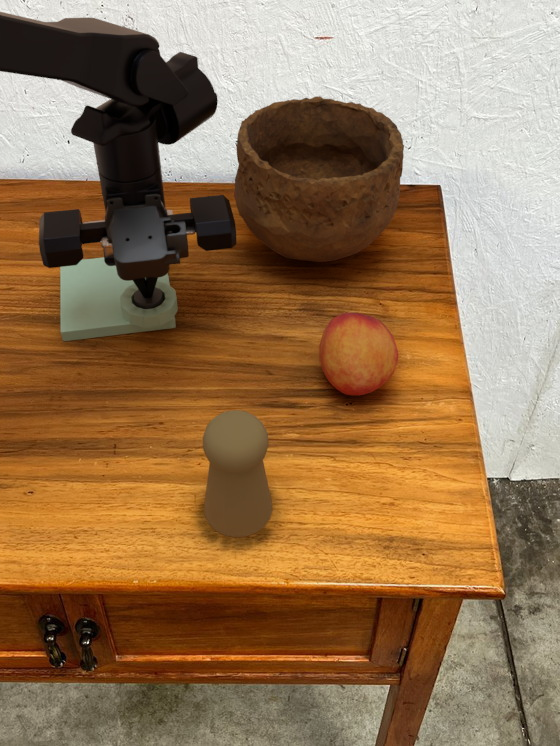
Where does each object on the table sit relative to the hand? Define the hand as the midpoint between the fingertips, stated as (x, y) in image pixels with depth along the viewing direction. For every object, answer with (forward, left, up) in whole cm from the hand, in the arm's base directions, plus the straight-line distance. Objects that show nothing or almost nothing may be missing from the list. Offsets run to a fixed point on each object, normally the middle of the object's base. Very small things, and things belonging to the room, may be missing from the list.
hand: (147, 295), depth 82 cm
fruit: (+19, -13, -4) cm, 24 cm away
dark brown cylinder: (0, 0, -2) cm, 2 cm away
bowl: (+20, +10, -4) cm, 23 cm away
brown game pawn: (+5, -26, -4) cm, 27 cm away
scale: (-4, +4, -3) cm, 6 cm away
